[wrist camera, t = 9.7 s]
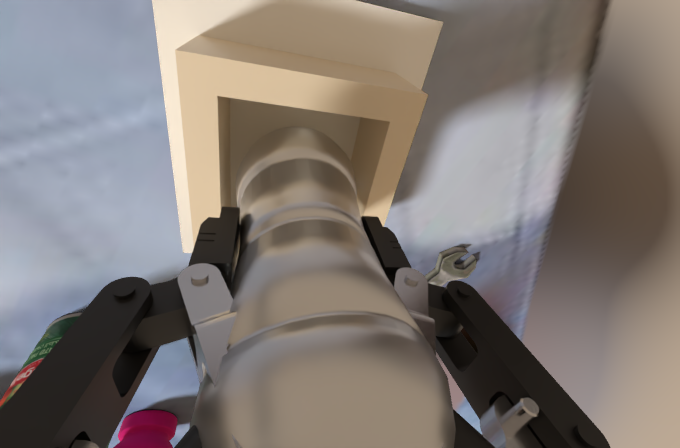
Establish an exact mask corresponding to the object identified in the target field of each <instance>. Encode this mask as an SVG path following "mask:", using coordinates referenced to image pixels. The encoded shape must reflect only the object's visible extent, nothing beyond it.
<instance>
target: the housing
mask: <svg viewBox="0 0 680 448" xmlns="http://www.w3.org/2000/svg"><path fill="white" fill-rule="evenodd" d="M152 3H153V11H154V19H155V27H156V35H157V44H158V52H159V60H160V68H161V76H162V84H163V93H164V101H165V109H166V117H167V125H168V133H169V141H170V150H171V158H172V166H173V174H174V182H175V190H176V199H177V207H178V215H179V223H180V231H181V239H182V247H183V253H192V252H193V249H194V245H195V242H196V239H197V235H198V232H199V229H200V225H201V224H202V223H203V222H204V221H205V220H206V219H207V218H208V217H215V218H219V217H220V213H221V209H222V206H224V207H237V200H236V188H235V182H236V174H237V171H238V168H239V166H240V163H241V162H242V160H243V159H244V157H245V156H246V154H247V153H248V151H249V150H250V148H251V147H252V145H253V144H255V143H256V142H257V141H258V140H259V139H260V138H261V137H263V136H265V135H266V134H268V133H270V132H272V131H275V130H277V129H280V128H286V127H306V128H311V129H314V130H317V131H319V132H322V133H324V134H325V135H327V136H328V137H329V138H331V139H332V140H333V141H334V142H335V143H336V144H337V145H338V146H339V147H340V148H341V149H342V150H343V151H344V152H345V153H346V154H347V156H348V158H349V160H350V161H351V163H352V167H353V170H354V174H355V180H356V187H357V202H358V206H359V210H360V214H361V217H362V216H375V217H378V218H379V220H380V222H381V224H382V226H383V227H384V224H385V221H386V218H387V215H388V212H389V209H390V206H391V203H392V200H393V197H394V194H395V191H396V188H397V185H398V182H399V180H400V177H401V174H402V171H403V168H404V165H405V162H406V159H407V156H408V153H409V150H410V147H411V144H412V141H413V138H414V135H415V132H416V130H417V127H418V124H419V121H420V118H421V115H422V112H423V109H424V106H425V103H426V100H427V97H428V94H426V93H425V92H423V91H422V87H423V84H424V80H425V77H426V74H427V71H428V68H429V65H430V62H431V59H432V56H433V53H434V50H435V47H436V44H437V41H438V37H439V34H440V31H441V28H442V25H443V22H441V21H437V20H433V19H429V18H425V17H421V16H417V15H413V14H409V13H405V12H401V11H397V10H393V9H389V8H385V7H381V6H377V5H373V4H369V3H364V2H360V1H356V0H152ZM239 249H240V238H239ZM238 254H239V251H238Z"/></svg>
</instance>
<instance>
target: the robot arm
mask: <svg viewBox="0 0 680 448" xmlns="http://www.w3.org/2000/svg"><path fill="white" fill-rule="evenodd" d="M361 218H362V223H363V227H364V230H365V232H366V234H367V236H368V238H369V241H370V244H371V246H372V247H373V249H374V251H375V253H376V255H377V257H378V259H379V262H380V264H381V266H382V268H383V270H384V272H385V274H386V276H387V278H388V279H389V281H390V282H391V284H392V286H393V287H394V289H395V290H396V292H397V294H398V295H399V297H400V298H401V300H402V301H403V303H404V305H405V306H406V308H407V309H408V311H409V313H410V314H411V316H412V317H413V319H414V321H415V322H416V324H417V325H418V327H419V328H420V330H421V332H422V333H423V335H424V337H425V339H426V340H427V341H428V343H429V344H430V346H431V347H432V349H433V351H434V353H435V355H436V352H437V353H438V355H439V357H440V358H441V360H442V361H443V363H444V364H445V366H446V367H447V369H448V371H449V372H450V374H451V375H452V377H453V378H454V380H455V381H456V383H457V385H458V386H459V388H460V389H461V391H462V392H463V394H464V396H465V397H466V399H467V400H468V402H469V403H470V405H471V407H472V408H473V410H474V411H475V413H476V414H477V416H478V417H479V419H480V427H481V431H482V435H481V434H480V433H479V432H478V431H477V430H476V429H475V428H473V427H472V426H471V425H470V424H469V423H468V422H467V421H466V420H465V419H463V418H462V417H461V416H460V415H459V414H458V413H457V412H456V411H455V410H454V409H453V414H454V420H455V427H456V432H455V441H454V448H610V446H609V444H608V442H607V440H606V438H605V437H604V435H603V434H602V433H601V431H600V430H599V429H598V428H597V427H596V426H595V425H594V423H592V421H591V420H590V419H589V418H588V417H587V415H586V414H585V413H584V412H583V411H582V410H581V409H580V408H579V407H578V405H577V404H576V403H575V402H574V401H573V400H572V399H571V398H570V396H569V395H568V394H567V393H566V392H565V391H564V390H563V388H562V387H561V386H560V385H559V384H558V383H557V382H556V380H555V379H554V378H553V377H552V376H551V375H550V374H549V373H548V371H547V370H546V369H545V368H544V367H543V366H542V365H541V364H540V362H539V361H538V360H537V359H536V358H535V357H534V356H533V355H532V354H531V352H530V351H529V350H528V349H527V348H526V347H525V345H524V344H523V343H522V342H521V341H520V340H519V339H518V338H517V336H516V335H515V334H514V333H513V332H512V331H511V330H510V329H509V327H508V326H507V325H506V324H505V323H504V322H503V321H502V319H501V318H500V317H499V316H498V315H497V314H496V313H495V312H494V310H493V309H492V308H491V307H490V306H489V305H488V304H487V303H486V301H485V300H484V299H483V298H482V297H481V296H480V295H479V294H478V292H477V291H476V290H475V289H474V288H473V287H471V286H470V285H468V284H467V283H464V282H462V281H451V282H449V283H448V285H447V286H446V288H445V287H441V286H437V285H433V284H430V283H428V281H427V279H426V277H425V276H424V275H423V274H422V273H420V272H419V271H417V270H415V269H412V268H411V266H410V264H409V262H408V260H407V258H406V256H405V254H404V252H403V250H402V249H401V246H400V244H399V243H398V240H397V238H396V236H395V234H394V233H393V232H392V231H391V230H390V229H388V228H387V227H383V226H382V224H381V222H380V220H379V218H378V217H375V216H362V217H361ZM239 238H240V208H239V207H224V206H222V209H221V213H220V217H219V218H215V217H208V218H207V219H206V220H205V221H204V222H203V223H202V224H201V225H200V229H199V232H198V235H197V239H196V242H195V245H194V249H193V252H192V256H191V259H190V262H189V266H188V267H187V268H185V269H184V270H182V272H181V273H180V274H179V276H178V277H177V278H175V279H173V280H171V281H168V282H164V283H159V284H154V285H150V284H149V283H148V282H147V281H146V280H145V279H142V278H139V277H126V278H121V279H118V280H115V281H113V282H111V283H109V284H108V285H106V286H105V287H104V288H103V289H102V290H101V291H100V292H99V294H98V295H97V296H96V297H95V298H94V300H93V301H92V302H91V303H90V304H89V306H88V307H87V308H86V309H85V310H84V311H83V313H82V314H81V315H80V316H79V317H78V319H77V320H76V321H75V322H74V323H73V324H72V326H71V327H70V328H69V329H68V330H67V332H66V333H65V334H64V335H63V336H62V338H61V339H60V340H59V341H58V342H57V343H56V345H55V346H54V347H53V348H52V349H51V351H50V352H49V353H48V354H47V355H46V357H45V358H44V359H43V360H42V361H41V362H40V364H39V365H38V366H37V367H36V368H35V370H34V371H33V372H32V373H31V374H30V375H29V377H28V378H27V379H26V380H25V381H24V383H23V384H22V385H21V386H20V387H19V389H18V390H17V391H16V392H15V393H14V394H13V396H12V397H11V398H10V399H9V400H8V402H7V403H6V404H5V405H4V406H3V408H2V409H1V410H0V448H106V447H107V445H108V443H109V441H110V439H111V438H112V436H113V434H114V432H115V430H116V428H117V426H118V424H119V422H120V421H121V419H122V417H123V415H124V413H125V411H126V409H127V407H128V406H129V404H130V402H131V400H132V398H133V396H134V394H135V392H136V391H137V389H138V387H139V385H140V383H141V381H142V379H143V377H144V375H145V374H146V372H147V370H148V368H149V366H150V364H151V362H152V360H153V359H154V357H155V355H156V353H157V351H158V349H159V347H160V345H163V344H167V343H170V342H173V341H176V340H180V339H183V338H186V337H187V340H188V344H189V347H190V350H191V354H192V357H193V360H194V364H195V367H196V370H197V374H198V378H199V382H200V384H201V382H202V380H203V378H204V372H205V369H206V371H207V374H208V376H209V378H210V380H211V382H212V383H213V385H214V387H215V386H216V382H217V378H218V373H219V369H220V364H221V360H222V357H223V356H224V355H225V354H227V353H228V351H227V348H228V346H229V345H230V344H227V342H228V339H229V336H230V333H231V330H232V327H233V324H234V321H235V318H236V314H237V313H236V311H232V312H230V308H231V305H232V302H233V298H232V296H231V294H230V292H231V288H232V283H233V278H234V273H235V268H236V265H237V259H238V251H239ZM463 327H464V329H465V330H466V331H467V333H468V334H469V335H470V337H471V338H472V339H473V341H474V342H475V343H476V345H477V348H478V355H477V353H476V352H475V351H474V349H473V348H472V347H471V345H470V344H469V342H468V341H467V340H466V338H465V337H464V336H463V334H462V333H461V332H460V331H461V329H462V328H463ZM231 434H232V433H231ZM232 437H233V440H234V443H235V447H236V448H242V447H241V446H240V444H239V443H238V441H237V440H236V439H235V438H234V436H233V435H232ZM174 448H202V443H201V439H200V436H199V432H198V429H197V427H196V425H193V426H192V427H191V428H190V429H189V431H188V432H187V433H186V434H185V435H184V437H183V438H182V439H181V440H180V441H179V443H178V444H177V445H176V446H175V447H174ZM442 448H444V443H443V445H442Z"/></svg>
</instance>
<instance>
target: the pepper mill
mask: <svg viewBox="0 0 680 448" xmlns="http://www.w3.org/2000/svg"><path fill="white" fill-rule="evenodd" d="M177 421H178V420H177V418H176V416H175V415H173V414H172V413H170V412H166V411H161V410H146V411H139V412H136V413H133V414H131V415H129V416H127V417H126V418H125V419H124V420H123V422H122V425H121V428H120V431H119V434H118V438H119V440H120V441H121V442H120V443H118V444H117V445H116V446H115V447H114V448H173V447H172V445H171V443H170V442H169V440H171V439H172V438H173V437H174V435H175V431H176V426H177Z"/></svg>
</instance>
